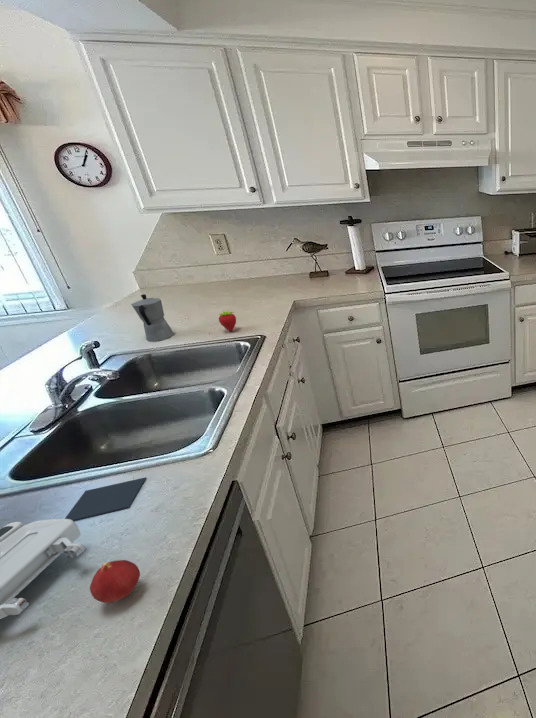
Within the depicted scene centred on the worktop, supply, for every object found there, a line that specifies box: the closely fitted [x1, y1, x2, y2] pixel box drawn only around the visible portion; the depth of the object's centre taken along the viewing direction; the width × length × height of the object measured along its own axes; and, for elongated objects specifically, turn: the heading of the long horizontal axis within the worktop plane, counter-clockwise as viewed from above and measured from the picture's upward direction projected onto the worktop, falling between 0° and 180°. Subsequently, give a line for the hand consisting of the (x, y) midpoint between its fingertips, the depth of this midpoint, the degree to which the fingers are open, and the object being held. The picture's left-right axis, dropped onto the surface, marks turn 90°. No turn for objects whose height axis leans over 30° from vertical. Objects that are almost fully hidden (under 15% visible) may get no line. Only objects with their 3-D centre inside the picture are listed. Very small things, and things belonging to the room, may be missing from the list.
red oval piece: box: [89, 559, 141, 604], centre depth 66 cm, size 6×6×8 cm
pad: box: [64, 476, 148, 522], centre depth 87 cm, size 11×9×1 cm
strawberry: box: [218, 311, 237, 333], centre depth 166 cm, size 6×8×10 cm
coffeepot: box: [130, 293, 175, 343], centre depth 160 cm, size 15×9×18 cm, turn 27°
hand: (52, 576), depth 66 cm, fingers open, 8 cm apart
